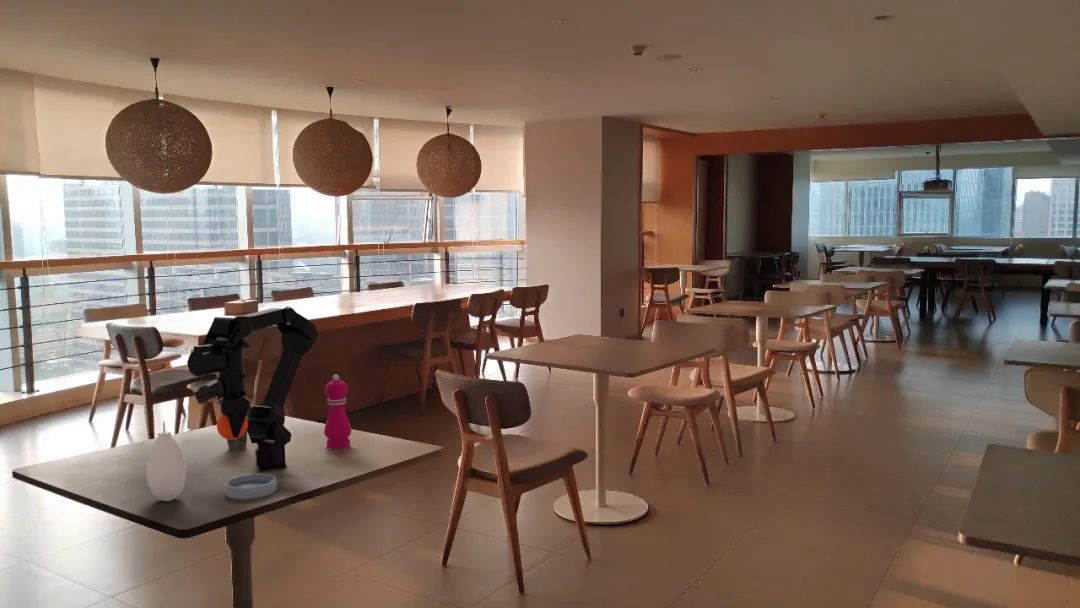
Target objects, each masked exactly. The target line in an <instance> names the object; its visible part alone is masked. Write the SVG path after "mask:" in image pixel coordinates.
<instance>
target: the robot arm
mask: <svg viewBox="0 0 1080 608" xmlns="http://www.w3.org/2000/svg"><path fill="white" fill-rule="evenodd" d="M273 326H276V330H277V332H278V333H280V335H281V336H280V343H281V347H282V348H281V349H282V353H281V354H280V358H279V360H278V363H277V365H276V368H275V370H274V373H273V375H272V378H271V381H270V384H269V387H268V388H267V392H266V394H265V397H264V400H263V401H262V403H261V404H259V405H252V406H251V403H250V400H249V398H248V397H247V390H246V384H245V383H246V382H245V379H246V373H245V364H244V361H245V360H244V349H247V348H250V347H251V346H250V343H248V342H247V341H246V340H244V339H246V338H248V337H250V336H251V334H252V333H253V332H255V331H258V330H262V329H266V328H269V327H273ZM317 336H318V329H317V328H316V325H315V324H314V323H313V322H311V321H310V320H309V319H308V318H306V317H304V316H303V315H301V314H300V313H298V312H297V311H296V310H295V309H294V308H293V307H291V306H284V305H283V306H278V305H276V306H273V307H272V308H267V309H264V310H263V309H262V310H260V311H257V312H256V311H255V312H252V313H248V314H243V315H231V314H230V315H217V316H215V317H214V318H213V321H212V322H211V325H210V327H209V329H208V331H207V333H206V336H205V337H204V340H203V342H202V345H194V346H193V352H191V353H190V354H189V356H188V359H187V362H186V363H187V368H188V370H189V372H190V374H191V375H193V376H194V377H203V376H207V375H211V374H216V379H214V380H211V381H208V382H206V383H203V384H202V385H198V386H197V387H195V388H193V389H192V393H193V395H194V397H195V399H196V402H197V403H198V405H201V404H204V403H206V402H207V401H209V400H210V399H211V400H212V399H213V398H215V397H216V399H217V402H218V404H219V409H220V413H221V415H222V414H224V415H225V416H227V417H228V419H229V423H230V427H231V431H232V435H233V437H234V438H236V437H238V436H239V434H240V431H241V428H242V426H243V423H244V420H245V418H246V415H247V413H248V411H249V413H248V419H247V421H248V420H249V421H248V428H247V435H248V437H249V440H250V442H251V444H256V447H257V448H255V450H254V453H255V454H254V455H255V459H254V460H255V466H256V467H257V469H258V470H259V472H265V471H273V470H280V469H287V468H288V465H287V463H286V445H288V444H289V443H291V439H292V433H291V432H290V430H289V429H287V428H286V427H285V422H286V417H285V412H284V406H285V403H286V400H287V397H288V395H289V392H290V389H291V387H292V384H293V381H294V378H295V376H296V374H297V371H298V368H299V365H300V364H301V363H300V362H301V360H302V357H303V356H304V355H305V354H306V353H308V352H309V351H310V350H311V349H312V348H313V346H314V343H315V342H316V340H317Z"/></svg>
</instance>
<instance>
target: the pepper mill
mask: <svg viewBox="0 0 1080 608" xmlns="http://www.w3.org/2000/svg"><path fill="white" fill-rule="evenodd" d="M346 383H347V382H345V381H343V380H341V379H340V376H339V375H338V374H334V375H333V376H332V380H330V381H329V382H327V383H326V384H325V387H324V393H325V395H326V396H327V397H328V398H327V399H326V400H327V404H328V407H329V410H328V411H329V412H328V416H327V420H326V423H325V424H324V429H323V430H324V431H323V433H324V436H325V437H326V439H327V440H326V448H327V449H328V448H331V449H330V450H332V449H339V450H344V449H343V448H345V449H348V448H350V446H351V439H350V438H349V437H350V436H351V434H352V426H351V425H352V424H351V422H350V420H349V419H348V416H347V414H346V403H347V397H346V396H347V393H348V392H349V391H348V389H349V388H348V385H347V384H346ZM347 447H348V448H347Z"/></svg>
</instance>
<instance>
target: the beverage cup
mask: <svg viewBox="0 0 1080 608" xmlns="http://www.w3.org/2000/svg"><path fill="white" fill-rule="evenodd" d="M249 414H250V410H249V411H248V413H247V415H246V416H247V417H249ZM246 419H247V418H246ZM247 422H248V421H247ZM226 442H227V447H228V451H230V452H240V451H244V450H246V449H247V442H248V432H247V430H246V432H245V433H244V435H243V436H241V437H240V438H238V439H235V440H229V439H226Z"/></svg>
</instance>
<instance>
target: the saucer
mask: <svg viewBox="0 0 1080 608" xmlns="http://www.w3.org/2000/svg"><path fill="white" fill-rule="evenodd" d="M277 487H278V479H277V477H276V475H275V474H271V473H267V472H265V473H263V472H262V473H259V472H258V473H257V472H255V473H247V474H241V475H237V476H235V477H231V478H229V479H228V480H226V481H225V482H224V491H225V497H226V498H228V499H231V500H236V501H237V500H238V501H248V500H256V499H262V498H264V497H268V496H271V495H273V494H274V493H275V492H276V491H277Z"/></svg>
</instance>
